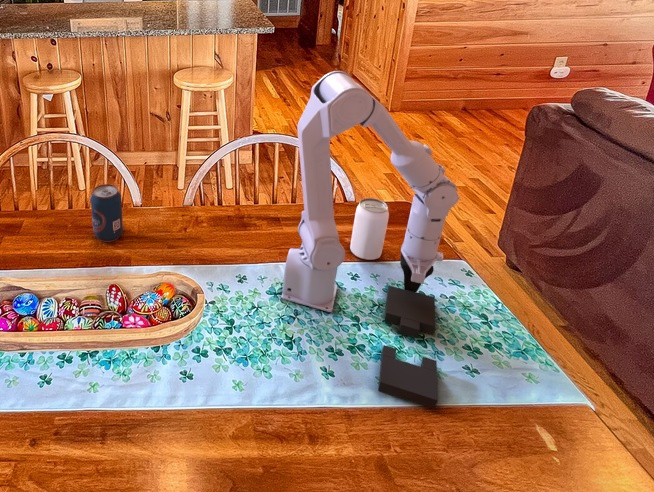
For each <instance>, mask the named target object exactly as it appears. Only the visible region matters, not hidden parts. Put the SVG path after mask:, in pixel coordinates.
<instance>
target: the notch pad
mask: <svg viewBox="0 0 654 492" xmlns="http://www.w3.org/2000/svg"><path fill="white" fill-rule="evenodd" d="M437 363H438V362H437V360H436V359H433V358H429V357H425V356H422V359H421V362H420V365H417V364H414V363H410V362H407V361H404V360H401V359H397V348H395V347H392V346H388V345H385V344H383V345H382V349H381V355H380V364H379V366H380V367H379V376H378V377H379V378H378V388H377V391H378V392H381V393H383V394H387V395H390V396H393V397H396V398H399V399H403V400H405V401H408V402H411V403H414V404H417V405H419V406H423V407H426V408H429V409H432V410H436V408H437V404H438V401H439V397H438V394H439V393H438V364H437Z"/></svg>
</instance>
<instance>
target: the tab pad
mask: <svg viewBox="0 0 654 492" xmlns="http://www.w3.org/2000/svg"><path fill="white" fill-rule="evenodd" d="M435 301H436V298H435V296H432V295H428V294H424V293H420V292H412V291H409V290H405V289H404V288H401V287H397V286H392V285H388V287H387V291H386V299H385V311H384V322H386V323H390V324H394V325H397V326H398V334H400V335H404V336H408V337H411V338H415V339H418V338H419V334H420V332H422V333H426V334H429V335H434V333H435V330H436V302H435Z"/></svg>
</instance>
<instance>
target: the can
mask: <svg viewBox="0 0 654 492" xmlns="http://www.w3.org/2000/svg"><path fill="white" fill-rule="evenodd" d="M389 218H390V212H389V205H388V204H387V203H386V202H384V200H381V199H378V198H375V197H374V198H372V197H366V198H362V199H361V200H360V201H359V204H358V205H357V206H356V210H355V214H354V220H353V225H352V232H351V237H350V244H349V249H350V251H351V253H352V254H353V255H354V256H355V257H357V258H359V259H361V260H365V261H374V260H377V259H379V258H380V257H381V256H382V255H383V254H382V253H383V249H384V244H385V240H386V239H385V238H386V234H387V229H388V224H389Z"/></svg>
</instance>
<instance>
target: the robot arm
mask: <svg viewBox="0 0 654 492" xmlns="http://www.w3.org/2000/svg"><path fill="white" fill-rule="evenodd" d="M310 91H311V92H310V96H309V99H308V101H307V103H306V105H305V107H304V110H303V112H302V114H301V116H300V118H299V120H298V123H297V126H296V127H297V130H296V131H297V141H298V152H299V153H298V154H299V162H300V163H299V165H300V176H301V189H302V198H303V209H304V210H301V219H300V222H299V223H298V227H297V233H298V236H299V238H300V239H301V241H302V242H301V245H300V247H299V248H292V247H291V248H289V250H288V253H287V256H286V259H285V260H286V261H285V265H284V274H283V281H282V282H283V283H282V293H281V299H282V300H285V301H289V302H293V303H296V304H298V305H303V306H307V307H309V308H312V309H317V310H321V311H322V312H323V311H324V312H328V313H332V312H333V309H334V304H335V301H336V295H337V291H338V284H336V279H337V274H338V273H337V272H338V267H339V266H341V265H342V263H343V262H344V261H345V259H346V250H345V248H344V246H343V244H341V242H340V237H339V236H340V235H339V230H338V227H337V224H336V220H335V214H334V197H333V196H334V195H333V180H332V179H333V177H332V163H331V161H332V160H331V146H330V145H331V144H330V141H331V139H333V138H335V137H336V136H338V135H340V134H342V133H344V132H346V131H348V130H350V129H352V128H354V127H355V126H357V125H360V126H361V127H362V128H367V127H368V128H369V127H371V128H372V130H373V131H374V132H375V133H376V134H377V135H378V136H379V137H380V139H381V140H382V141H383V142H384V143H385V144H386V146H387V147H388V149H390V150H391V154H390V163H391V164H392V166H393V167H394V168H395V169H396V170H397V171H398V173H399V174H400V175H401V176H402V178H403V179H404V180H405V181H406V183H407V184H408V185H409V188H410V189H411V190H412V191H413V192H414V194H413V198H412V202H411V207H410V213H409V217H408V221H407V226H406V229H405V235H404V240H403V243H402V244H401V248H400V259H399V260H400V262H399V264H400V267H401V270H402V273H403V289H405V290H409V291H412V292H416V293H418V290H420V287H421V286H422V285H424V284H425V280H426V279H427V278H428V277H430V276H431V275H432V274H433V273H434V271H435V269H434V264H435V263H436V262H443V261H444V253H443V252H440V251H438V250H439V246H440V243H441V238H442V235H443V231H444V227H445V223H446V219H447V217H448V216H449V213H450V211H451V209H452V208H454V206H456V205H457V204H458V202H459V200H460V198H461V196H460V195H459V194H458V191H459V190H458V187H457V186H456V184H455V183H454V182H453V181H452V180H451V179H450V178H449V177H447V175H445V172H446V169H445V167H444V166H443V165H442V164H438V163H437V162H436V160H435V159H434V157H432V154H433V150H432V148H431V147H429V146H428V145H427V144H423V143H422V142H419V141H417V140H409V139H408V137H407V136H406V135H405V134H404V131H403V130H402V129H401V128H400V126H399V124H398V123H397V122H396V121H395V119H394V118H393V117H392V115H391V114H390V113H389V111H388V110H387V108H386V107H385V106H384V105H383V104H382V103H381V102H380V101H378V100H377V99H376V98H375V97H374V96H373V95H372V94H370V92H369V91H368V90H366V89H365V88H364V87H362V85H360V84H359V83H358V82H356V81H355V80H354V79H353V77H352V76H351V75H350V74H349V73H348V72H345V71H342V70H334V71H330V72H328V73H326V74H325V75H323V76H322V77H320V79H319V80H318V81H317V82H316V83H314V84H313V85H312V87H311V90H310Z"/></svg>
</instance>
